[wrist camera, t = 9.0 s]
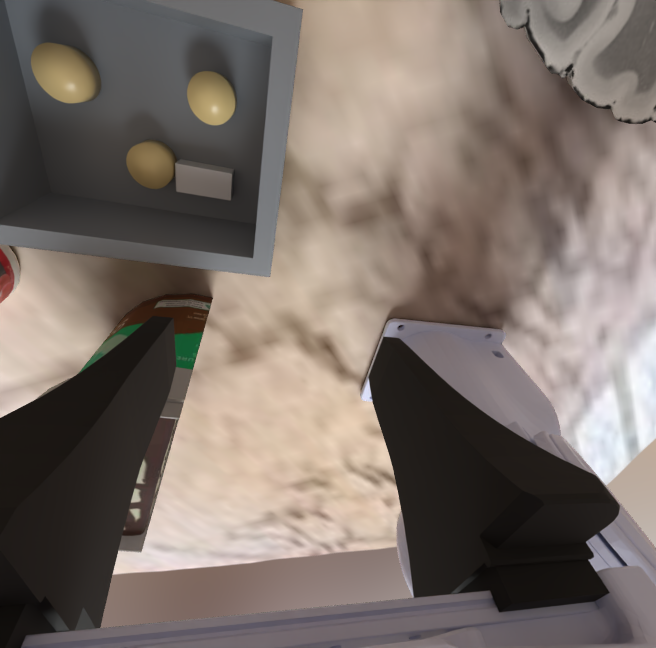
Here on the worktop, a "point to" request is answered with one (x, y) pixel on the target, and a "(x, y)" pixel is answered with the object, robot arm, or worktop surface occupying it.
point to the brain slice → (596, 49)
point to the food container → (188, 335)
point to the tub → (146, 128)
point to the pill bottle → (8, 272)
